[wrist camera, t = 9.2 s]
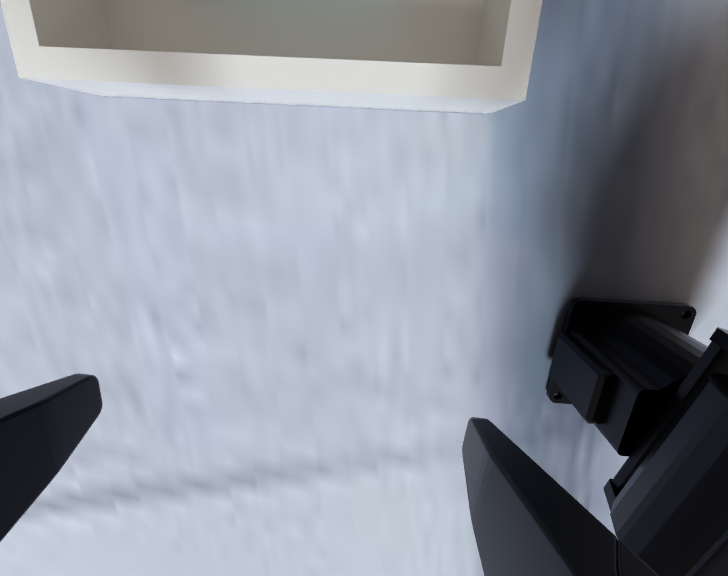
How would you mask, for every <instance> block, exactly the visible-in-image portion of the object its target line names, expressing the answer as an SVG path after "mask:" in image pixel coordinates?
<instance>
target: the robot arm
mask: <svg viewBox="0 0 728 576" xmlns="http://www.w3.org/2000/svg"><path fill="white" fill-rule="evenodd" d="M580 305H583V307H582V309H580V310H578V311H577V308H578V306H580ZM684 311H685V313H684V315H682V316H681V314H682V313H683V312H684ZM695 316H696V310H695V309H694V308H693V307H691V306H689V305H687V304H684V303H666V302H648V301H629V300H610V299H592V298H576V299H574V300H572V301H571V302H570V304H569V306H568V310H567V313H566V317H565V321H564V325H563V329H562V333H561V335H560V336H559V337H558V340H557V343H556V347H555V351H554V355H553V359H552V363H551V367H550V371H549V375H550V380H549V384H548V388H547V396H548V397H549V399H550V400H551V401H552V402H554V403H564V404H573V406H574V407H575V408H576V409H577V411H578V412H579V413H580V415H581V416H582V417H583V418H584V420H585V421H586V422H587V423H589V424H595V425H596V427H597V428H598V429H599V430H600V432H601V433H602V434H603V435H604V437H605V438H606V439H607V440H608V442H609V443H610V444H611V445H612V447H613V448H614V449H615V450H616V451H617V453H618V454H619V455H621V456H629V458H628V459H627V460H626V462H625V463H624V465H623V466H622V467H621V469H620V470H619V472H618V473H617V474H616V476H615V477H614V479H609V481H608V482H607V483H606V485H605V486H604V492H605V495H606V498H607V501H608V504H609V508H610V511H611V514H610V515H611V519H612V522H613V526H614V530H615V533H616V536H617V537H616V536H615V535H614V534H613V533H612V532H611V531H609V530H608V529H607V528H606V527H605V526H604V525H603V524H602V523H601V522H600V521H599V520H597V519H596V518H595V517H594V516H593V515H592V514H591V513H590V512H589V511H588V510H587V509H585V508H584V507H583V506H582V505H581V504H580V503H579V502H578V501H577V500H576V499H575V498H573V497H572V496H571V495H570V494H569V493H568V492H567V491H566V490H565V489H564V488H563V487H561V486H560V485H559V484H558V483H557V482H556V481H555V480H554V479H553V478H552V477H551V476H549V475H548V474H547V473H546V472H545V471H544V470H543V469H542V468H541V467H540V466H539V465H537V464H536V463H535V462H534V461H533V460H532V459H531V458H530V457H529V456H528V455H527V454H525V453H524V452H523V451H522V450H521V449H520V448H519V447H518V446H517V445H516V444H515V443H513V442H512V441H511V440H510V439H509V438H508V437H507V436H506V435H505V434H504V433H503V432H501V431H500V430H499V429H498V428H497V427H496V426H495V425H494V424H493V423H492V422H491V421H489V420H488V419H484V418H475V417H472V418H470V419H469V421H468V425H467V429H466V433H465V437H464V442H463V448H462V454H463V462H464V470H465V477H466V485H467V492H468V500H469V508H470V514H471V521H472V525H473V530H474V534H475V538H476V542H477V547H478V551H479V555H480V559H481V563H482V567H483V571H484V575H485V576H728V330H725V329H722V328H719V327H718V328H717V329H716V330H715V332H714V333H713V335H712V336H711V338H710V340H711V341H712V342H711V343H710V345H709V346H708V347H707V346H706V345H704V344H702V343H701V342H699V341H697V340H695V339H694V338H692V337H690V336H688V334H689V331H690V329H691V326H692V324H693V321H694V319H695ZM557 392H559V394H557V395H554V394H555V393H557ZM101 409H102V398H101V393H100V387H99V381H98V379H97V377H96V376H94V375H88V374H74V375H71V376H68V377H65V378H62V379H58V380H55V381H52V382H49V383H46V384H43V385H40V386H37V387H34V388H31V389H28V390H25V391H22V392H19V393H16V394H13V395H10V396H7V397H4V398H1V399H0V542H1V541H2V539H3V538H4V537H5V536H6V535H7V533H8V532H9V531H10V530H11V529H12V527H13V526H14V525H15V524H16V523H17V521H18V520H19V519H20V518H21V517H22V515H23V514H24V513H25V512H26V511H27V510H28V508H29V507H30V506H31V505H32V504H33V502H34V501H35V500H36V499H37V498H38V496H39V495H40V494H41V493H42V492H43V490H44V489H45V488H46V487H47V486H48V484H49V483H50V482H51V481H52V480H53V478H54V477H55V476H56V475H57V473H58V472H59V471H60V469H61V468H62V467H63V465H64V464H65V462H66V461H67V460H68V458H69V457H70V455H71V454H72V453H73V451H74V450H75V448H76V447H77V445H78V444H79V443H80V441H81V440H82V438H83V437H84V435H85V434H86V433H87V431H88V430H89V428H90V427H91V425H92V424H93V423H94V421H95V420H96V418H97V417H98V415H99V414H100V412H101ZM617 538H618V539H617Z"/></svg>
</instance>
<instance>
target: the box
mask: <svg viewBox="0 0 728 576" xmlns="http://www.w3.org/2000/svg"><path fill="white" fill-rule="evenodd" d="M542 1H543V0H0V2H1V6H2V10H3V14H4V18H5V23H6V27H7V31H8V35H9V39H10V43H11V47H12V51H13V55H14V60H15V64H16V68H17V72H18V76H19V78H23V79H28V80H32V81H37V82H41V83H46V84H51V85H55V86H60V87H65V88H69V89H74V90H78V91H83V92H88V93H92V94H97V95H102V96H106V97H128V98H150V99H172V100H194V101H215V102H237V103H259V104H281V105H303V106H325V107H346V108H368V109H390V110H412V111H434V112H455V113H477V114H490V113H493V112H495V111H498V110H501V109H503V108H506V107H509V106H512V105H514V104H517V103H520V102H522V101H525V98H526V93H527V87H528V81H529V76H530V70H531V64H532V58H533V53H534V47H535V41H536V36H537V30H538V24H539V18H540V13H541V7H542Z"/></svg>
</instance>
